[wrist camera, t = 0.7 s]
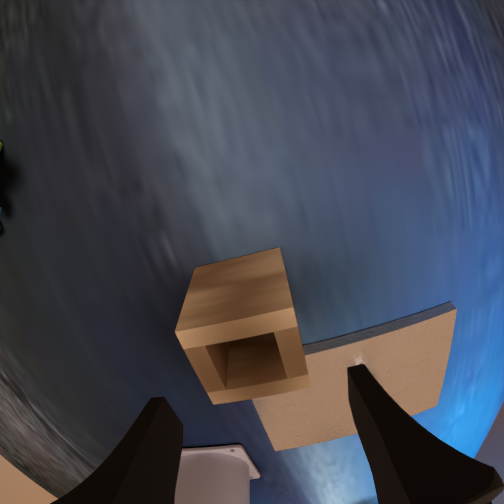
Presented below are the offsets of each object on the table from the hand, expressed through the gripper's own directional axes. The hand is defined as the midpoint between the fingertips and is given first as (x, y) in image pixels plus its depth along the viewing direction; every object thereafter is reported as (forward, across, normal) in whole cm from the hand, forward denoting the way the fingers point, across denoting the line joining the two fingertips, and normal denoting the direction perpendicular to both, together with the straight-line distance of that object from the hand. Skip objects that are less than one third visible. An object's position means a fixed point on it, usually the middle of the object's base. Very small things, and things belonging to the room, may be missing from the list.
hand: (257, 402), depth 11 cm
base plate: (+8, -6, +11) cm, 15 cm away
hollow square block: (+8, 0, 0) cm, 8 cm away
